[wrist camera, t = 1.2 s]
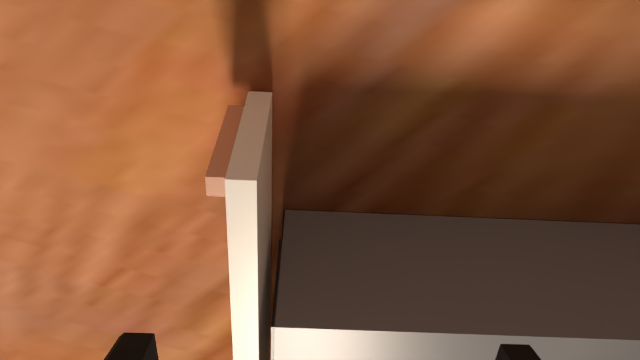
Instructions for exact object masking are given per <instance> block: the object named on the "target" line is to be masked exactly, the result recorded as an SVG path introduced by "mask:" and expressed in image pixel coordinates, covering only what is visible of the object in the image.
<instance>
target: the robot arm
mask: <svg viewBox="0 0 640 360" xmlns="http://www.w3.org/2000/svg"><path fill="white" fill-rule="evenodd" d="M104 360H158V354H157V347H156V341H155V335H154V334H153V333H123V334H122V335H121V336H120V337H119V338H118V340H117V341H116V343H115V344H114V346H113V347H112V349H111V350H110V352H109V353H108V354H107V356H106V357H105V359H104ZM495 360H541V359H540V357H539V356H538V355H537V354H536V352H535V351H534V350H533V348H532V347H531V346H530V345H525V344H500V347H499V350H498V353H497V356H496V358H495Z"/></svg>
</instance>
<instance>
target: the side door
mask: <svg viewBox="0 0 640 360" xmlns="http://www.w3.org/2000/svg"><path fill="white" fill-rule="evenodd" d="M205 181H206V195H207V196H223V197H226V217H227V238H228V259H229V280H230V301H231V322H232V343H233V360H271V240H272V92H255V91H248V94H247V98H246V102H245V106H228V108H227V111H226V114H225V117H224V121H223V124H222V127H221V130H220V133H219V136H218V139H217V142H216V145H215V148H214V151H213V154H212V157H211V161H210V164H209V167H208V170H207V173H206V176H205Z"/></svg>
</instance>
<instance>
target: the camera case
mask: <svg viewBox="0 0 640 360" xmlns="http://www.w3.org/2000/svg"><path fill="white" fill-rule="evenodd" d="M500 344H525V345H530V346H531V347H532V348H533V350H534V351H535V352H536V354H537V355H538V356H539V357H540V359H541V360H640V224H618V223H594V222H570V221H546V220H522V219H498V218H473V217H449V216H425V215H401V214H377V213H353V212H329V211H305V210H285V217H284V228H283V239H280V241H279V251H278V261H277V272H276V282H275V292H274V303H273V313H272V323H271V360H495V358H496V356H497V353H498V350H499V347H500Z"/></svg>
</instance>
